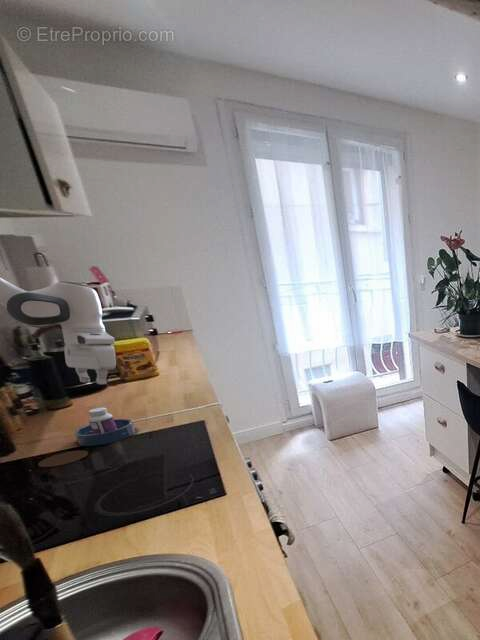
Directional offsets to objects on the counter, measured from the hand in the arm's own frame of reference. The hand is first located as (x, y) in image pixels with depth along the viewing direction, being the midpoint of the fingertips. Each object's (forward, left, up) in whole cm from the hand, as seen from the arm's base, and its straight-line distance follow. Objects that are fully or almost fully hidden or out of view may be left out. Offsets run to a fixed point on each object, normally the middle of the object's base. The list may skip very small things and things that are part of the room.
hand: (93, 383), depth 126 cm
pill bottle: (-1, +3, -19) cm, 19 cm away
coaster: (-11, -8, -19) cm, 24 cm away
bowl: (-1, +3, -19) cm, 19 cm away
